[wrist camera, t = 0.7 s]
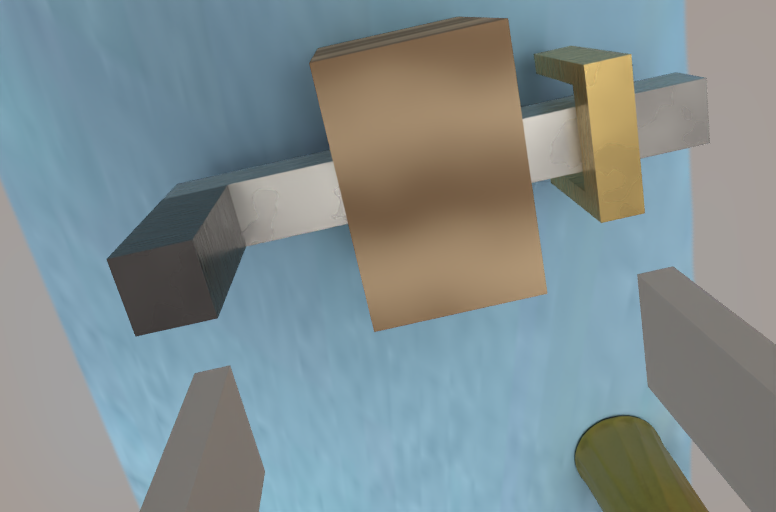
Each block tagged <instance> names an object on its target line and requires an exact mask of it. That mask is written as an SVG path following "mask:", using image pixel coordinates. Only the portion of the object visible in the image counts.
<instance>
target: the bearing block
mask: <svg viewBox="0 0 776 512" xmlns="http://www.w3.org/2000/svg"><path fill="white" fill-rule="evenodd" d="M309 64H310V68H311V72H312V77H313V81H314V85H315V89H316V93H317V97H318V101H319V105H320V110H321V114H322V118H323V122H324V126H325V130H326V134H327V138H328V143H329V147H330V151H331V155H332V159H333V163H334V167H335V171H336V176H337V180H338V184H339V188H340V192H341V196H342V200H343V205H344V209H345V213H346V217H347V221H348V225H349V229H350V233H351V238H352V242H353V246H354V250H355V254H356V258H357V262H358V266H359V271H360V275H361V279H362V283H363V287H364V291H365V295H366V299H367V304H368V308H369V312H370V316H371V320H372V324H373V328H374V332H376V331H381V330H385V329H390V328H394V327H399V326H403V325H408V324H412V323H417V322H421V321H426V320H430V319H435V318H439V317H444V316H448V315H453V314H457V313H462V312H466V311H471V310H475V309H480V308H484V307H489V306H493V305H498V304H502V303H507V302H511V301H516V300H520V299H525V298H529V297H534V296H538V295H543V294H547V287H546V280H545V273H544V266H543V259H542V252H541V245H540V238H539V231H538V224H537V217H536V210H535V203H534V196H533V189H532V182H531V175H530V168H529V161H528V154H527V147H526V140H525V133H524V126H523V119H522V112H521V105H520V98H519V91H518V84H517V78H516V71H515V64H514V57H513V50H512V43H511V36H510V29H509V22H508V18H481V17H455V18H450V19H446V20H441V21H437V22H432V23H428V24H423V25H419V26H415V27H410V28H406V29H401V30H397V31H392V32H388V33H383V34H379V35H374V36H370V37H366V38H361V39H357V40H352V41H348V42H343V43H339V44H334V45H330V46H326V47H321V48H318V49H317V51H316V52H315V54H314V56H313V57H312V59H311V61H310V63H309Z"/></svg>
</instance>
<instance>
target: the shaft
mask: <svg viewBox="0 0 776 512" xmlns="http://www.w3.org/2000/svg"><path fill="white" fill-rule="evenodd" d="M706 79H707V78H704V77H699V76H693V75H688V74H682V73H676V72H675V73H671V74H666V75H662V76H657V77H653V78H648V79H644V80H639V81H635V82H634V93H635V105H636V116H637V128H638V139H639V151H640V159H641V158H645V157H649V156H654V155H658V154H663V153H667V152H672V151H676V150H681V149H685V148H690V147H694V146H699V145H703V144H708V143H710V138H709V120H708V100H707V80H706ZM521 112H522V119H523V126H524V133H525V140H526V147H527V154H528V161H529V168H530V175H531V182H532V183H533V182H537V181H542V180H546V179H551V178H555V177H560V176H564V175H569V174H573V173H578V172H582V171H583V168H582V160H581V151H580V142H579V134H578V125H577V116H576V108H575V99H574V95H572V96H568V97H563V98H559V99H554V100H550V101H545V102H541V103H537V104H532V105H528V106H523V107H521ZM345 224H348V221H347V217H346V213H345V209H344V205H343V200H342V196H341V192H340V188H339V184H338V180H337V176H336V171H335V167H334V163H333V159H332V155H331V151H330V150H327V151H322V152H318V153H313V154H309V155H304V156H300V157H295V158H291V159H286V160H282V161H277V162H273V163H268V164H264V165H259V166H255V167H251V168H246V169H242V170H237V171H233V172H228V173H224V174H219V175H215V176H210V177H206V178H201V179H197V180H192V181H188V182H184V183H179V184H177V185H176V186H175V187H174V188H173V189H172V190H171V191H170V192H169V193H168V194H167V195H166V196H165V197H164V199H163V200H162V201H161V202H160V203H159V204H158V205H157V206H156V207H155V208H154V209H153V210H152V211H151V212H150V213H149V214H148V216H147V217H146V218H145V219H144V220H143V221H142V222H141V223H140V224H139V225H138V226H137V227H136V228H135V229H134V230H133V232H132V233H131V234H130V235H129V236H128V237H127V238H126V239H125V240H124V241H123V242H122V243H121V244H120V245H119V246H118V247H117V249H116V250H115V251H114V252H113V253H112V254H111V255H110V256H109V257H108V258H107V262H108V265H109V267H110V270H111V273H112V275H113V278H114V281H115V283H116V286H117V289H118V291H119V294H120V296H121V299H122V302H123V304H124V307H125V310H126V312H127V315H128V318H129V320H130V323H131V326H132V328H133V331H134V334H135V336H140V335H144V334H149V333H153V332H158V331H162V330H167V329H171V328H176V327H180V326H185V325H189V324H194V323H198V322H203V321H207V320H212V319H216V318H218V316H219V314H220V311H221V309H222V306H223V303H224V301H225V298H226V296H227V293H228V291H229V288H230V286H231V283H232V281H233V278H234V276H235V273H236V271H237V268H238V265H239V263H240V260H241V258H242V255H243V253H244V250H245V248H246V246H250V245H255V244H259V243H264V242H268V241H273V240H277V239H282V238H286V237H291V236H295V235H300V234H304V233H309V232H313V231H318V230H322V229H327V228H331V227H336V226H340V225H345Z"/></svg>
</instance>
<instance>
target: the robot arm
mask: <svg viewBox="0 0 776 512" xmlns="http://www.w3.org/2000/svg"><path fill="white" fill-rule="evenodd" d="M637 276H638V287H639V297H640V308H641V318H642V329H643V340H644V350H645V361H646V371H647V382H648V387H649V388H650V389H651V391H652V392H653V393H654V394H655V395H656V397H657V398H658V399H659V400H660V401H661V403H662V404H663V405H664V406H665V408H666V409H667V410H668V411H669V412H670V414H671V415H672V416H673V417H674V418H675V420H676V421H677V422H678V423H679V424H680V426H681V427H682V428H683V429H684V430H685V432H686V433H687V434H688V435H689V437H690V438H691V439H692V440H693V441H694V443H695V444H696V445H697V446H698V447H699V449H700V450H701V451H702V452H703V453H704V455H705V456H706V457H707V458H708V459H709V461H710V462H711V463H712V464H713V465H714V467H715V468H716V469H717V470H718V472H719V473H720V474H721V475H722V476H723V478H724V479H725V480H726V481H727V482H728V484H729V485H730V486H731V487H732V488H733V490H734V491H735V492H736V493H737V494H738V496H739V497H740V498H741V499H742V501H743V502H744V503H745V504H746V505H747V507H748V508H749V509H750V510H751V511H752V512H776V344H774V343H773V342H772V341H770V340H769V339H768V338H766V337H765V336H764V335H762V334H761V333H760V332H758V331H757V330H756V329H755V328H753V327H752V326H750V325H749V324H748V323H747V322H745V321H744V320H743V319H741V318H740V317H739V316H737V315H736V314H735V313H734V312H732V311H731V310H729V309H728V308H727V307H726V306H724V305H723V304H722V303H720V302H719V301H718V300H716V299H715V298H714V297H712V296H711V295H710V294H709V293H707V292H706V291H705V290H703V289H702V288H701V287H699V286H698V285H697V284H695V283H694V282H693V281H691V280H690V279H689V278H687V277H686V276H685V275H684V274H682V273H681V272H680V271H678V270H677V269H676V268H674V267H668V268H664V269H659V270H655V271H651V272H646V273H642V274H637ZM264 475H265V470H264V467H263V464H262V461H261V458H260V455H259V452H258V449H257V446H256V443H255V439H254V436H253V433H252V430H251V427H250V424H249V421H248V418H247V415H246V412H245V409H244V406H243V403H242V400H241V397H240V394H239V391H238V388H237V385H236V382H235V379H234V376H233V373H232V370H231V367H230V366H226V367H221V368H217V369H212V370H208V371H203V372H199V373H195V374H194V376H193V379H192V382H191V384H190V387H189V389H188V392H187V394H186V397H185V399H184V402H183V404H182V407H181V409H180V412H179V414H178V417H177V419H176V422H175V424H174V427H173V429H172V432H171V434H170V437H169V439H168V442H167V444H166V447H165V449H164V452H163V454H162V457H161V459H160V462H159V464H158V467H157V469H156V472H155V475H154V477H153V480H152V482H151V485H150V487H149V490H148V492H147V495H146V497H145V500H144V502H143V505H142V507H141V510H140V512H259V506H260V500H261V494H262V487H263V481H264Z"/></svg>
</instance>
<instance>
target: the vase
mask: <svg viewBox="0 0 776 512" xmlns="http://www.w3.org/2000/svg"><path fill="white" fill-rule="evenodd" d="M575 463H576V468H577V470H578V472H579V474H580V476H581V478H582V479H583V480H584V481H585V483H586V484H587V485H588V487H589V489H590V490H591V492H592V494H593V495H594V497H595V499H596V500H597V502H598V504H599V505H600V507H601V509H602V510H603V512H709V511H708V510H707V508H706V507H705V506H704V504H703V503H702V501H701V500H700V498H699V497H698V495H697V494H696V492H695V491H694V489H693V488H692V486H691V485H690V483H689V482H688V480H687V479H686V477H685V476H684V474H683V473H682V471H681V470H680V468H679V467H678V465H677V464H676V462H675V461H674V460H673V458H672V457H671V455H670V454H669V452H668V451H667V449H666V448H665V447H664V445H663V443H662V441H661V439H660V437H659V436H658V434H657V432H656V431H655V430H654V428H653V427H652V426H651V425H650V424H649V423H647V422H646V421H644V420H642V419H639V418H636V417H632V416H619V417H613V418H609V419H606V420H603V421H601V422H599V423H597V424H596V425H594V426H593V427H591V428H590V429H589V430H588V431H587V432H586V433H585V434H584V435H583V437H582V438H581V440H580V442H579V444H578V447H577V449H576V454H575Z"/></svg>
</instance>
